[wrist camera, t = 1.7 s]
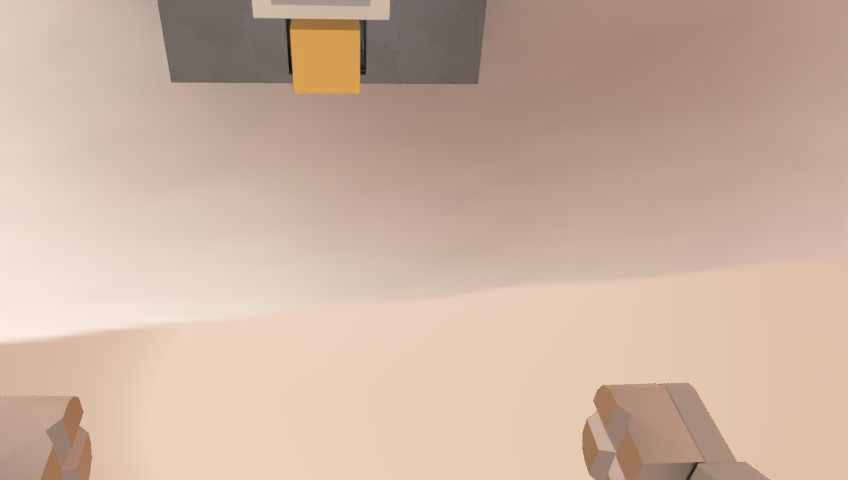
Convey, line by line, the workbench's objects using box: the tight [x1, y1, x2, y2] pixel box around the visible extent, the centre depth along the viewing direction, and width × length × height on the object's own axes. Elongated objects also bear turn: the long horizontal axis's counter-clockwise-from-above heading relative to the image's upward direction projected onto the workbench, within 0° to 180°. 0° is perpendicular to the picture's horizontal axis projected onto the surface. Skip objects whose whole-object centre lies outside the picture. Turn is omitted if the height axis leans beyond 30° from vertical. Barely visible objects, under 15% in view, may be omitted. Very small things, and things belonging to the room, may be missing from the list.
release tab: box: [290, 19, 360, 94], centre depth 27 cm, size 2×2×4 cm
